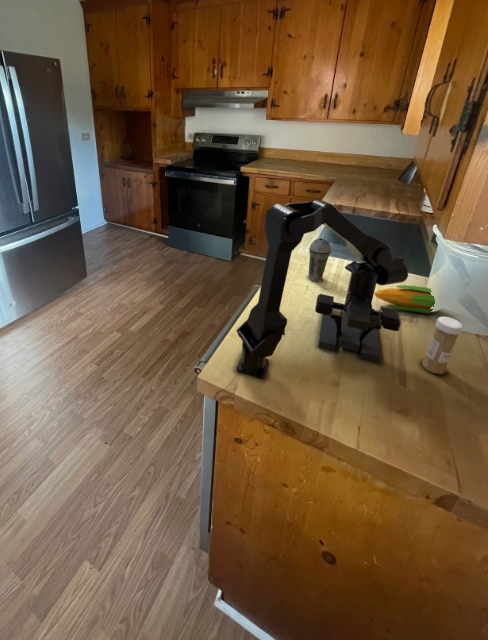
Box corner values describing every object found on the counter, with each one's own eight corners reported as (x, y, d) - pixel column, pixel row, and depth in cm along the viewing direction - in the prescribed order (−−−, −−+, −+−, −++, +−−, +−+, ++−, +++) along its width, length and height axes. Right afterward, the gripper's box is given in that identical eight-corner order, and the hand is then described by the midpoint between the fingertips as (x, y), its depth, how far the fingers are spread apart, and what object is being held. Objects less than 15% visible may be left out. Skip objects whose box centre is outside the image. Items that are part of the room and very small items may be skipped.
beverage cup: (300, 275, 123) (308, 224, 115) (316, 272, 125) (325, 223, 117) (312, 284, 116) (322, 232, 109) (329, 281, 118) (340, 229, 111)
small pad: (358, 351, 83) (359, 345, 82) (338, 346, 84) (340, 340, 84) (357, 337, 88) (359, 331, 87) (339, 332, 89) (340, 326, 89)
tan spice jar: (445, 377, 77) (464, 330, 72) (421, 369, 79) (438, 323, 74) (444, 365, 80) (462, 320, 75) (421, 358, 83) (437, 313, 77)
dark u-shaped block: (378, 363, 81) (380, 357, 80) (318, 347, 86) (319, 340, 85) (373, 322, 96) (375, 317, 95) (322, 311, 101) (323, 305, 101)
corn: (456, 296, 95) (380, 287, 99) (449, 319, 97) (375, 310, 102) (444, 285, 102) (373, 277, 106) (437, 307, 104) (369, 298, 109)
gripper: (318, 293, 77) (308, 347, 82) (411, 313, 69) (393, 370, 75) (321, 273, 86) (312, 322, 92) (404, 289, 79) (388, 341, 85)
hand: (349, 338), depth 86 cm, fingers closed on small pad, 4 cm apart
